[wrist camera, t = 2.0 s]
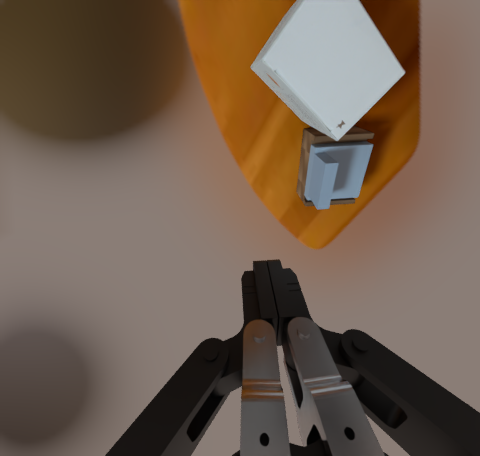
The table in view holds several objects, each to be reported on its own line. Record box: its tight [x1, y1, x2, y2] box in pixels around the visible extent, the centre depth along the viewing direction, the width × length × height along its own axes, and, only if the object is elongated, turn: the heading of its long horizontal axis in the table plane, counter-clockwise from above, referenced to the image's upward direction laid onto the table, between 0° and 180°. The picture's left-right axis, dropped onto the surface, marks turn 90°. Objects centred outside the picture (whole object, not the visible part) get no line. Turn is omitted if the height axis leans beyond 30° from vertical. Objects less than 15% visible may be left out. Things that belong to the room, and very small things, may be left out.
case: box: [297, 126, 374, 206], centre depth 26 cm, size 8×6×4 cm
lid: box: [304, 141, 374, 209], centre depth 23 cm, size 6×6×5 cm
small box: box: [251, 0, 405, 141], centre depth 18 cm, size 8×6×10 cm
